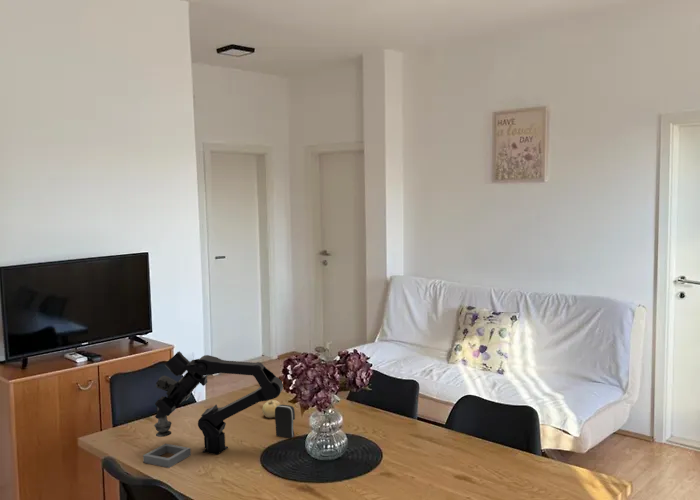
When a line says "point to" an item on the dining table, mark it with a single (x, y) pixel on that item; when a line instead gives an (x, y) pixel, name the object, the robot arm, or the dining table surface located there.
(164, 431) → the grey tall tiered piece
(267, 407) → the onion
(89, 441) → the dining table surface
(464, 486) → the dining table surface
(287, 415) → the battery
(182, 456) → the frame
